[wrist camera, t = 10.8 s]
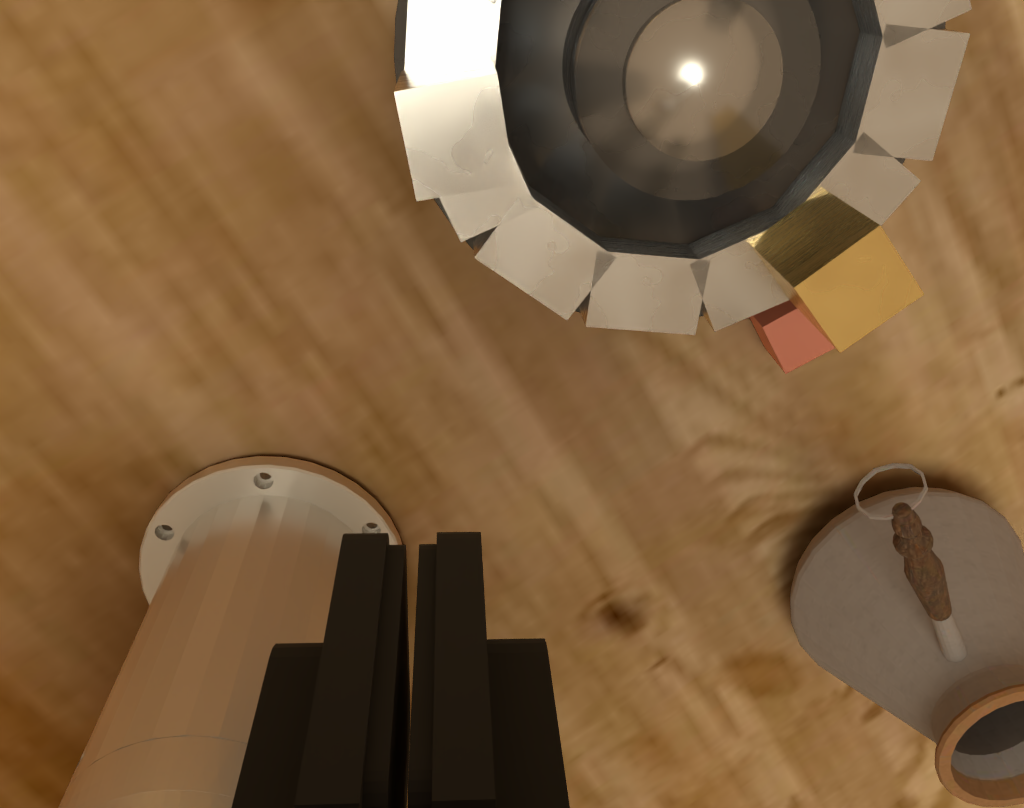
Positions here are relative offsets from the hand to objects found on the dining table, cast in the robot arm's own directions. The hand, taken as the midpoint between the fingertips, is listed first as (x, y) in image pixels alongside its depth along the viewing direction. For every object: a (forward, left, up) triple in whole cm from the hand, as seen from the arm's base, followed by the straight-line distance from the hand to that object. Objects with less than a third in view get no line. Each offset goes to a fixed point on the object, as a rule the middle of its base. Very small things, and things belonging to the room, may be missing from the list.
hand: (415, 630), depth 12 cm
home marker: (-7, -15, -29) cm, 33 cm away
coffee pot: (-16, -20, -29) cm, 39 cm away
